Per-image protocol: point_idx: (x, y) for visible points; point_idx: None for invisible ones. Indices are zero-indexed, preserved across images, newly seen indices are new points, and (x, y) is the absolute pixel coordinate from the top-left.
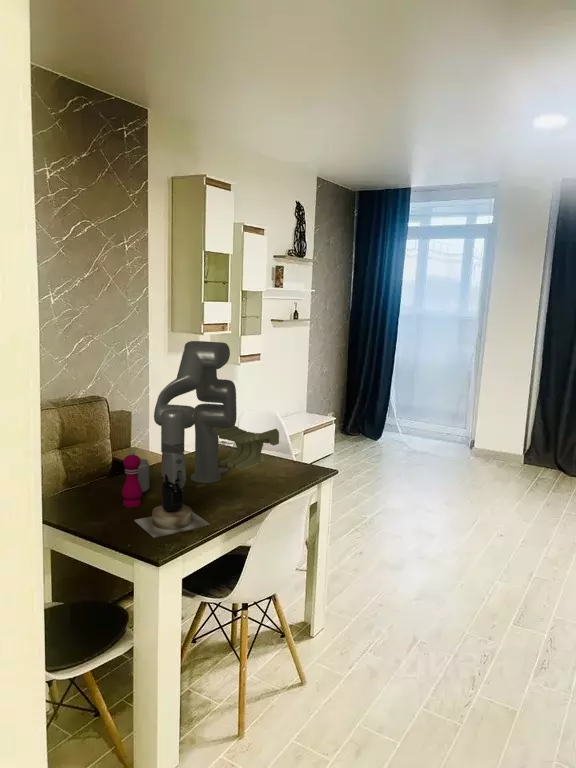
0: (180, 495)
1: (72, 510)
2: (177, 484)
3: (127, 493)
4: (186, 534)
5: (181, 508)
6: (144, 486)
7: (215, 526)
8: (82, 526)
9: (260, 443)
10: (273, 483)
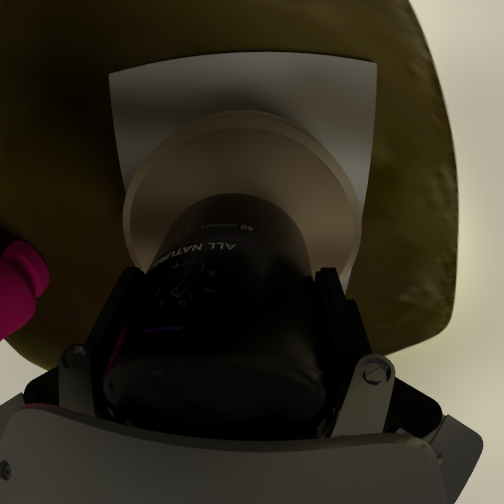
0: (362, 332)
1: None
2: (322, 433)
3: (27, 320)
4: (394, 211)
5: (237, 184)
6: None
7: (398, 52)
8: None
9: None
10: None
